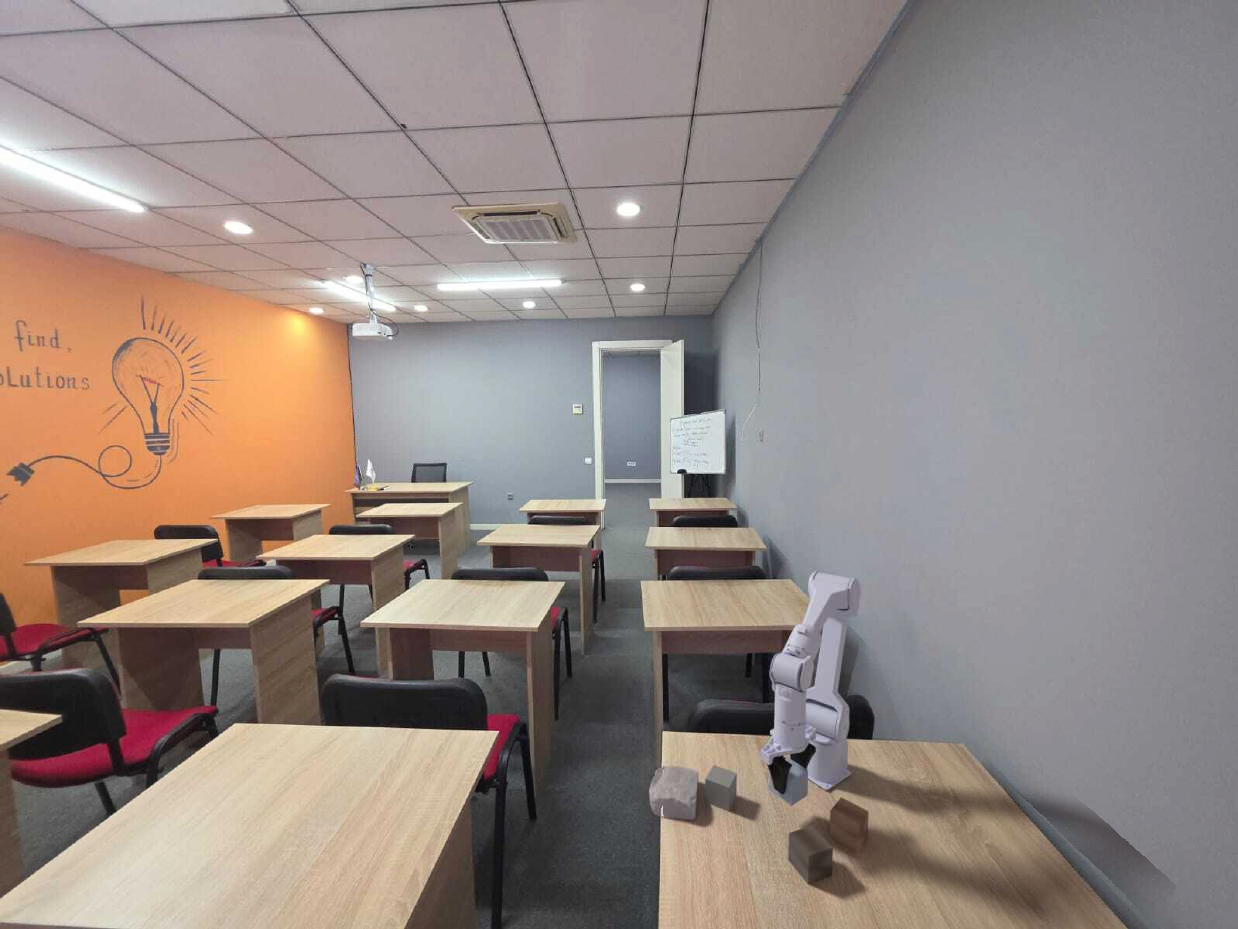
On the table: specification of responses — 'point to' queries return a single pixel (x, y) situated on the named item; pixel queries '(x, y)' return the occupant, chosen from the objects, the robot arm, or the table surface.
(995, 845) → the table surface
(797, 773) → the slate blue cube
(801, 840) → the ebony cube
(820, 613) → the robot arm
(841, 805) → the walnut cube
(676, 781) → the stone block
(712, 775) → the grey cube
